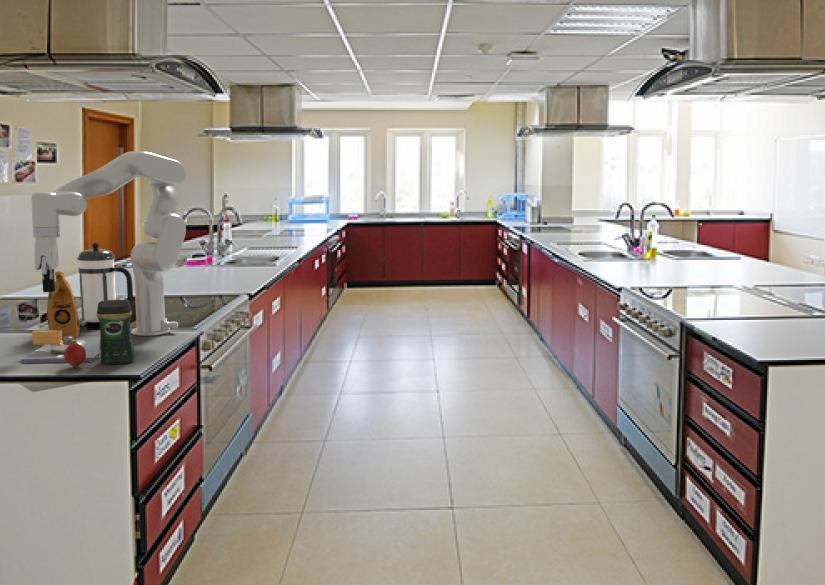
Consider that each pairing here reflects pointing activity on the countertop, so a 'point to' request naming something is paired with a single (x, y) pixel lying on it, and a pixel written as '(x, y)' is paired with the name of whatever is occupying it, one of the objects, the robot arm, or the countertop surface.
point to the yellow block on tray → (54, 340)
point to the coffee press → (98, 280)
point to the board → (47, 356)
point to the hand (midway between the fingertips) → (49, 291)
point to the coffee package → (62, 308)
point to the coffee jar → (115, 332)
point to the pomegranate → (75, 354)
